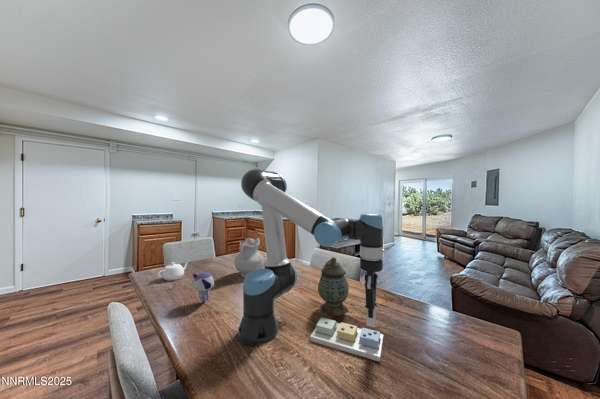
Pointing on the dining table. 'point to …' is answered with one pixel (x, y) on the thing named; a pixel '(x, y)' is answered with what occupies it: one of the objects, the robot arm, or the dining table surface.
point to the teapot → (172, 272)
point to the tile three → (370, 338)
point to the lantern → (333, 288)
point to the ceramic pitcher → (249, 257)
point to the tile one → (326, 326)
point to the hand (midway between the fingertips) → (371, 325)
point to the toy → (203, 285)
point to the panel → (348, 344)
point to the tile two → (347, 332)
